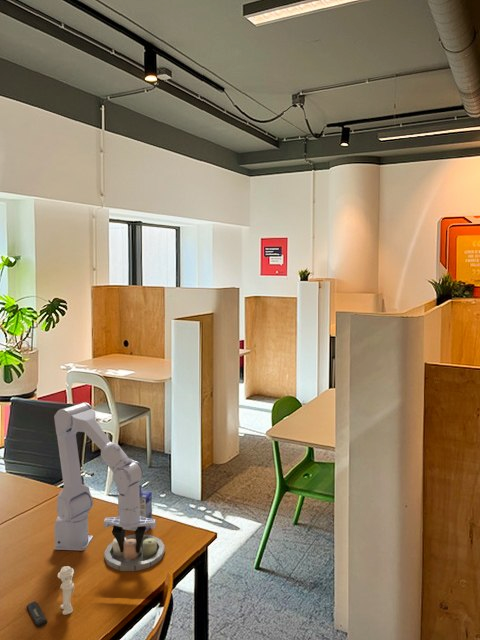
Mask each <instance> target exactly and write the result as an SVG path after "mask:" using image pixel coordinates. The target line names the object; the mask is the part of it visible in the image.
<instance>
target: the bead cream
mask: <svg viewBox="0 0 480 640" xmlns="http://www.w3.org/2000/svg"><path fill="white" fill-rule="evenodd" d="M125 540H127V539H126V538H125ZM112 542H113V555H114V556H115V557H122V556H124V553H123V552H120V548H119V545H118V542H117V540H116V538H115V537H114V539H113V540H112Z"/></svg>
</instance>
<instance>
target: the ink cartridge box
mask: <svg viewBox="0 0 480 640" xmlns="http://www.w3.org/2000/svg"><path fill="white" fill-rule="evenodd" d="M142 486H143V485H140V484H139V497H140V517H144V518H149V519H153V507H152V506H153V503H152V502H153V494H152V493H153V492H152V491H145V490H142ZM117 500H118V501H117V502H118V503H117V507H118V508H117V509H118V512H117V515H118V516H117V517H119V495H118V496H117ZM136 529H137V527H134V528H130V529H125V531H132V532H135V531H136ZM149 530H150V528H146V531H145V533H147V532H148V531H149Z"/></svg>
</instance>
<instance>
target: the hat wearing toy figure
mask: <svg viewBox="0 0 480 640" xmlns="http://www.w3.org/2000/svg"><path fill="white" fill-rule="evenodd" d="M74 573H75V570H74V568H73V567H71V566H69V565H67V566H65V565H64V566H61V569H60V571H59V572H58V573H57V578H58V579H60V580H61V584H60V587H59V588H60V590H62V603H63V604H60V606H59V607H60V609H61V610H62V612H61V613H62V615H65V616H66V615H69V614H72V613H73V611H74V610H73V606H72V605H71V600H72V599H71V597H72V594H74V588H75V583H74V582H73V577H74Z"/></svg>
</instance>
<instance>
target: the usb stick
mask: <svg viewBox="0 0 480 640" xmlns="http://www.w3.org/2000/svg"><path fill="white" fill-rule="evenodd" d="M26 609H27V611H28V613H29V615H30V617H31V619H32V621H33V622H34V624H35V626H36V627H37V628H41V627H43V626H46V625H47V623H48V620H47V619H46V617H45V614H44V613H43V611H42V609H41V607H40V606H39V603H38V602H37V601H31V602H29V603H28V604H27V605H26Z"/></svg>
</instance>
